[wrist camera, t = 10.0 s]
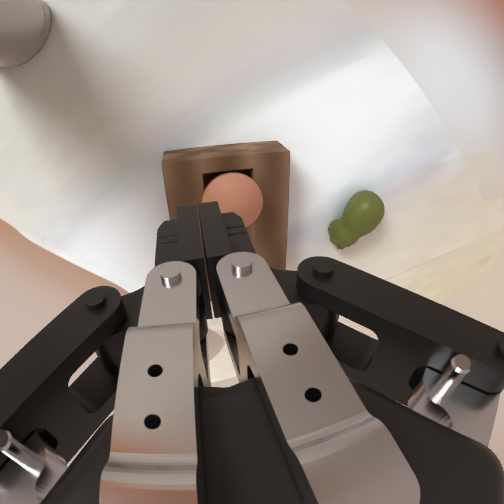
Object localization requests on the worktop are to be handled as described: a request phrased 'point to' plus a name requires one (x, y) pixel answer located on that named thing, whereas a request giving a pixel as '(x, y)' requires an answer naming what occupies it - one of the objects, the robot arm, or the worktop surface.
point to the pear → (357, 219)
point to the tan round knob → (235, 194)
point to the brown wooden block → (246, 162)
